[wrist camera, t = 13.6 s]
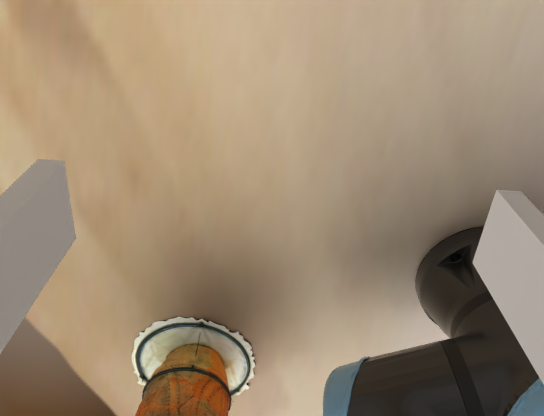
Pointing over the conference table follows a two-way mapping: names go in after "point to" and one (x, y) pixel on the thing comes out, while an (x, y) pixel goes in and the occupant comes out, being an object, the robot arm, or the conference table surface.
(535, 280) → the robot arm
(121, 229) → the conference table surface
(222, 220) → the conference table surface
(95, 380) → the conference table surface
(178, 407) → the decorative vase
